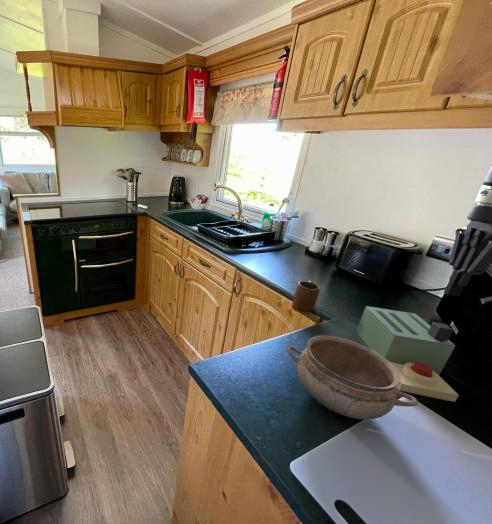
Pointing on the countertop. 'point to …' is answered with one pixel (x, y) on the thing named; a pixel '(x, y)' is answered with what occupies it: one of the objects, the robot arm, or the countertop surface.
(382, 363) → the cooking pot
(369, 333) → the toaster
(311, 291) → the mug
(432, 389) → the box
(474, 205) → the robot arm
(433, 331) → the toaster slider
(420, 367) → the button
